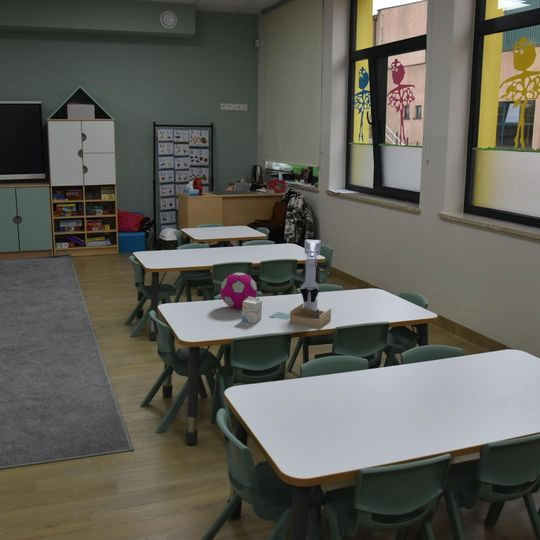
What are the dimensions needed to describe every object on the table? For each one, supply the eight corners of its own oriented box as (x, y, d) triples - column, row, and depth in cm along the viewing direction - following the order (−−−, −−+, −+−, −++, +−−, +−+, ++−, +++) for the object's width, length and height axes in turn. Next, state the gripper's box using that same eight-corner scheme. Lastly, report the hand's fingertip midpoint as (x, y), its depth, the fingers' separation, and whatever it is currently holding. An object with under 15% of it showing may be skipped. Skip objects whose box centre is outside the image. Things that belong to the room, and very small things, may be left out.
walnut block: (305, 318, 394) (306, 306, 392) (318, 320, 390) (319, 308, 389) (302, 320, 390) (303, 308, 388) (315, 322, 386) (316, 310, 385)
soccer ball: (249, 315, 397) (250, 278, 392) (214, 310, 404) (215, 275, 399) (261, 305, 418) (262, 271, 413) (228, 301, 424) (228, 267, 419)
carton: (301, 314, 402) (302, 303, 400) (330, 319, 394) (331, 308, 393) (289, 322, 386) (290, 311, 384) (319, 327, 378) (320, 315, 377)
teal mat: (277, 312, 404) (277, 312, 404) (294, 315, 400) (294, 314, 400) (269, 317, 395) (269, 316, 395) (286, 320, 390) (286, 319, 390)
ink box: (241, 320, 386) (242, 298, 383) (248, 317, 394) (249, 295, 390) (254, 323, 382) (255, 300, 379) (261, 319, 390) (262, 297, 387)
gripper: (308, 277, 379) (307, 301, 379) (323, 279, 391) (321, 302, 390) (298, 277, 384) (297, 301, 383) (313, 278, 395) (311, 301, 394)
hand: (309, 301), depth 387 cm, fingers open, 7 cm apart
